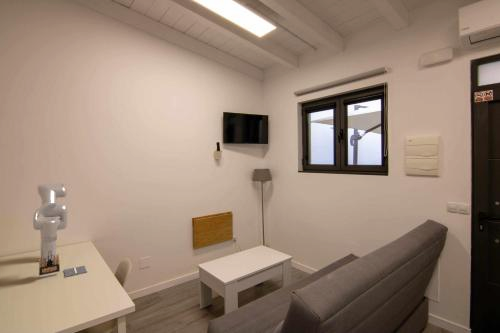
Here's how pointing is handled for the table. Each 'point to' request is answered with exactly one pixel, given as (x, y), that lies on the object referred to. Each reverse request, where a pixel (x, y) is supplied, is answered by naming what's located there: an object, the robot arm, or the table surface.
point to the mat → (75, 271)
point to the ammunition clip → (47, 270)
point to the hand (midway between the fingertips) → (49, 266)
